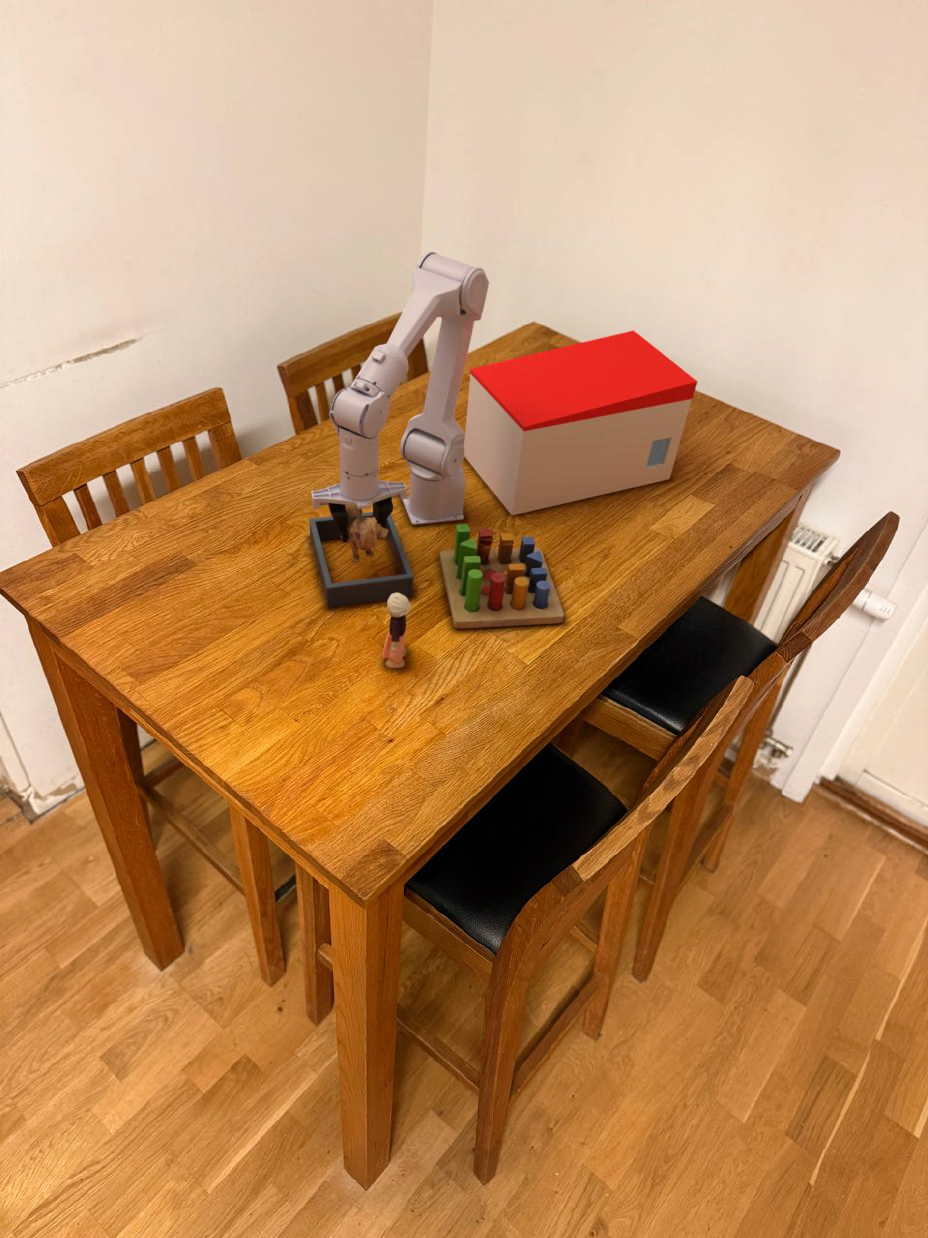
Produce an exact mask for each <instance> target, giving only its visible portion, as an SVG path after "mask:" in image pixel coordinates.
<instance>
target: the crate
mask: <svg viewBox="0 0 928 1238" xmlns="http://www.w3.org/2000/svg"><path fill="white" fill-rule="evenodd" d="M362 516H363V517H364V518H365V517H370V518H371V517H373V511H369V512H362ZM308 522H309V535H310V537H309V539H310V543H311V547H312V551H313V555H314V559H315V562H316V567H317V571H318V574H319V579H320V583H321V586H322V591H323V594H324V598H325V601H326V606H327V608H328V609H331V608H336V607H344V606H351V605H360V604H366V603H374V602H381V601H382V602H383V601H388V599H389V597H390V595H391V594H393V593H400V594H402V595H404V596H406V597H407V598H410V597H413V595H414V579H415V577H414V573H413V571H412V568H411V565H410V562H409V559H408V557H407V554H406V552H405V549H404V546H403V543H402V541H401V537H400V535H399V532H398V530H397V526H396V524H395V521H394V519H393V516H392V513H391V514H390V515H389V516H388V518H387V519H386V521H385V523H384V525H383V528H385V529H387V530H388V533H387V536H386V538H387V542H388V544H389V547H390V550H391V553H392V556H393V558H394V561H395V564H396V567H397V570H398V573H399V574H395V575H388V576H379V577H372V578H365V579H356V580H350V581H341V582H333V583H332V580H331V576H330V572H329V568H328V565H327V561H326V557H325V553H324V550H323V546H322V541H327V540H336V539H337V540H338V539H342V538H341V531H340V529H339V527H338V525H337V523H336V522H335V520H334V519H333V517H332V515H330V516H323V517H313V518H308ZM347 533H348V538H350V537H349V531H348V529H347Z"/></svg>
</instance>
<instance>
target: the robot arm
mask: <svg viewBox="0 0 928 1238" xmlns="http://www.w3.org/2000/svg"><path fill="white" fill-rule="evenodd" d="M410 283H411V284H410V286H411V296H410V297H409V299H408V300H407V303H406V305H405V307H404V309H403V311H402V313H401V315H400V317H399V318H398V321H397V323H396V325H395V326H394V328H393V330H392V332H391V335H390V336H389V338H388V340H387V342H386V343H384V344H380V345H379V344H378V345H377V346H375V347H374V348H373V350H372V351H371V353H370V354H369V356H368V358H367V359H366V361H365V363H364V364H363V366H362V367H361V369H360V371H359V372H358V373H357V375H356V377H354V380H353V381H352V383H351V385H350V386H349V387H346V388H342V389H340V390H339V391H338V392H337V393H336V394H335V396H334V398H333V400H332V403H331V407H330V411H329V412H328V416H329V420H330V422H331V424H333V425H334V429H335V434H336V435H337V437H338V441H339V442H338V443H339V476H340V477H339V478H340V479H339V480H340V482H339V483H336V484H334V485H331V486H328V487H324V488H322V489H317V490H311V491H310V495H311V496H310V498H311V504H312V508H313V510H315V509H321V506H328V509H329V513H330V516H332V517H333V519H334V520H335V522H336V523H337V525H338V527H339V529H340V531H341V536H342V538H341V540H342V542H343V543H342V544H347V543H349V537H348V534H347V519H348V515H347V511H346V506H345V504H346V505H355V506H357V508H358V509H362V510H366V509H370V508H372V512H373V517H375V519H376V520H377V523H378V524H380V525H381V527H383V525H384V523H385V521H386V519H387V518H388V516H389V515H390V514H391V515H392V513H393V511H394V503H393V498H399V499H400V500H402V503H403V505H404V508H405V510H406V513H407V516H408V518H409V520H410V523H411V525H412V526H420V525H428V524H437V523H446V522H457V521H462V520H464V518H465V516H464V507H465V506H464V505H465V495H466V477H465V472H464V469H463V467H462V465H463V462H464V459H465V457H464V441H465V432H464V431H465V430H463V428H462V427H461V426H460V424H459V423H458V422H457V420H456V419H455V412H456V408H457V404H458V400H459V395H460V390H461V386H462V381H463V376H464V371H465V367H466V362H467V357H468V353H469V348H470V345H471V339H472V335H473V330H474V326H475V322H476V321H477V322H478V321H481V319H482V317H483V312H484V309H485V304H486V300H487V295H488V291H489V285H490V280H489V279H488V276H487V274H486V271H485V270H484V268H482V267H480V266H473V265H470V264H467V263H464V262H461V261H458V260H455V259H452V258H449V257H447V256H444V255H441V254H438V253H437V252H434V251H427V252H425V253H424V254H423V255H422V256H421V257H420V258H419V259H418V261H417V263H416V265H415V268H414V271H413V272H412V274H411V281H410ZM437 318H441V321H440V326H439V331H438V335H437V341H436V346H435V351H434V356H433V360H432V366H431V371H430V376H429V380H428V385H427V390H426V396H425V402H424V406H423V410H422V413H421V412H420V414H419V413H418V414H416V415H414V416H412V417H411V418H409V420H408V422H407V426H406V429H405V432H404V433H403V435H402V437H401V440H400V444H399V445H400V446H399V450H400V455H401V458H402V459H403V460H406V467H408V469H409V491H408V488H407V485H406V482H405V481H388V480H379V449H380V448H379V444H380V443H379V441H380V440H379V439H380V438H379V437H380V436H379V435H380V433H381V431H382V430H383V428H385V425H386V423H387V421H388V416H389V411H390V409H391V406H392V402H391V399H392V398H393V396H394V395H395V393H396V391H397V390H398V388H399V386H400V385H401V383H402V382H403V380H404V378H405V377H406V375H407V374H408V372H409V370H410V367H409V366H410V365H409V361H408V357H409V356H410V355H411V353H412V352H413V351H414V349H416V346H417V345H418V344H419V342H420V341H421V340H422V338H424V336H425V334H426V333H427V332H428V331H429V329H430V328H431V326H432V325H433V324H434V323H435V321H436V320H437Z"/></svg>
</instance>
